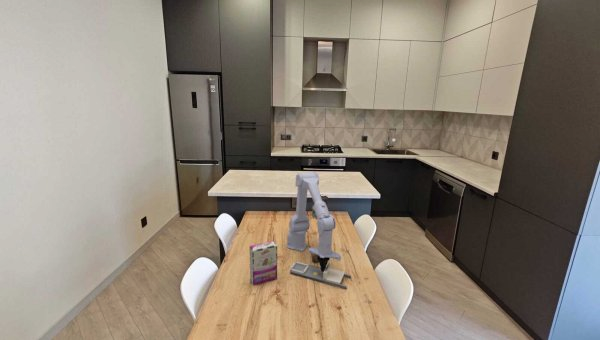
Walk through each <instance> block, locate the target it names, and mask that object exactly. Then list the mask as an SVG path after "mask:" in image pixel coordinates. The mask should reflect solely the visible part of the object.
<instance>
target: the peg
mask: <svg viewBox="0 0 600 340" xmlns="http://www.w3.org/2000/svg"><path fill="white" fill-rule="evenodd" d="M317 257H318V255H316V254H312V253H311V262H312V263H313V264H319V262H318V260H317Z"/></svg>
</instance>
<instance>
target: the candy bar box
mask: <svg viewBox="0 0 600 340" xmlns="http://www.w3.org/2000/svg"><path fill="white" fill-rule="evenodd" d="M249 276H250V277H249V278H250V282H251V283H252V285H253V286H256V285H260V284H264V283H267V282H270V281H274V280H277V279H278V244H277V243H276V242H275V241H274V240H271V241H266V242H262V243H257V244H252V245H249Z"/></svg>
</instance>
